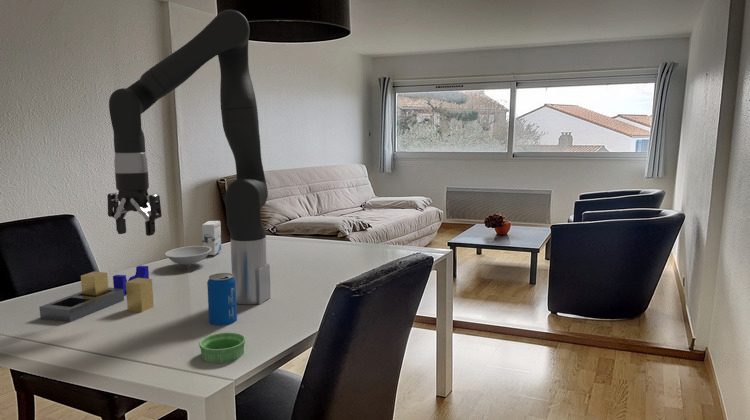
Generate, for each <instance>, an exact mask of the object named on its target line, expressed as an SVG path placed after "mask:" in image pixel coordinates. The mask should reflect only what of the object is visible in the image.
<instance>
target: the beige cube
mask: <svg viewBox="0 0 750 420" xmlns="http://www.w3.org/2000/svg"><path fill="white" fill-rule="evenodd" d="M80 284H81V292H82V296H88V297H98V296H101V295H103V294H106V293H109V289H108V287H109V279H108V272H103V271H91V272H88V273H84V274H82V275H80Z"/></svg>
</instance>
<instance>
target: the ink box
mask: <svg viewBox="0 0 750 420" xmlns="http://www.w3.org/2000/svg"><path fill="white" fill-rule="evenodd" d="M221 226H222V225H221V221H220V220H208V221H206V222H205V223H203V224H201V237H202V238H201V239H202V240H201V244H202V245H201V246H207V247H211V248H212V250H211V251H210V252H209V254H208V255H207V256H215V255H217V254H218V253H219V252H221V250H222V233H221V232H222V231H221Z"/></svg>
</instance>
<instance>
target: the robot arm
mask: <svg viewBox="0 0 750 420" xmlns="http://www.w3.org/2000/svg"><path fill="white" fill-rule="evenodd" d="M250 31H251V29H250V24H249V21H248V19H247V18H246V16H245V15H244V14H242V13H241V12H240V11H238V10H235V9H224V10H223V11H220V12H219V13H217V14H216V16H214V18H213V19H212V20H210V22H209V23H208V24H207V25H206V26H205V27H204V28H203V29H202V30H201V31H200V32H199V33H198V34H196V35H195V36H194V37H193V38H191V40H189V41H188V42H187V43H185V44H184V45H182V46H181V47H180V48H178V49H177V50H175V51H174V52H173V53H171V54H170V55H168V56H167V57H165V58H163V59H162V60H161V61H159V62H158V63H156V64H155V65H153V66H152V67H150V68H149V69H147V70H146V71H145V72H143V74H142V75H141V76H140V78H139V79H138V80H136V81H135V82H134V83H132V84H131V85H129V86H128V87H127V88H118V89H116V90H114V91H113V92H112V93H111V95H110V96H109V99H108V109H109V116H110V117H109V118H110V122H111V127H112V132H113V148H114V163H113V164H114V174H115V175H114V176H115V179H114V180H115V188H116V190H117V191H118V192H111V193H108V194H107V195H106V196H107V216H108V217H109V218H110V217H111V218H114V219H115V226H116V229H115V230H116V232H117V234H118V235H124V234H126V233H127V224H126V218H125V217H126V216H127V213H129V212H138V214H140V215H141V216H142V217H143V218H144V220H145V221H144V225H145V236H147V237H150V236H154V235H155V233H156V222H155V221H156V220H157V219H160V218H162V206H161V197H160V194H159V193H154V194H149V192H148V190H149V188H150V183H149V171H148V170H149V168H148V167H149V165H148V159H147V153H146V139H145V135H144V131H143V129H142V114H143V113H145V112H146V111H147V110H148V109H150V108H151V107H152V106H153V105H154V104H155V103H156V102H157V101H158V100H160V99H162V98H163V97H165V96H167V95H168V94H170V93H171V92H172V91H174V90H176V89H177V88H179V87H180V86H181V85H182V84H183V83H185V82H186V81H187V80H188V79H189V78H190V77H192V76H193V75H194V74H195V73H196V72H197V71H199V69H201V67H203V66H204V65H205V64H206V63H208V62H209V61H210V60H212V59H213V58H215V57H217V58H218V61H219V62H218V63H219V69H220V85H219V87H220V91H219V93H220V94H219V96H220V97H219V98H220V99H219V100H220V112H221V122H222V127H223V128H222V129H223V132H224V136H225V138H226V140H227V142H228V145H229V147H230V149H231V152H232V155H233V157H234V162H235V170H236V172H235V173H236V180H234V181H232V182H231V183H230V184H229V185H228V187H227V188H226V192H225V198H224V199H225V200H224V201H225V214H226V225H227V229H228V231H229V233H230V235H229V236H230V237H229V238H230V256H231V257H230V260H231V262H230V263H231V274H233V277H234V278H235V281H236V305H237V304H238V305H261V304H262V303H264V302H265V301H267V300H269V299H271V296H272V295H271V266H270V264H269V263H267V261H268V260H267V236H266V235H267V233H266V232H267V231H266V227H265V225H263V222H262V216H261V213H262V212H261V209H262V208H263V207H264V206H265V205H266V202H267V200H268V197H269V196H268V195H269V193H268V192H269V191H268V186H267V180H266V176H265V172H264V167H263V166H264V165H263V161H262V153H261V139H260V138H261V137H260V135H261V134H260V126H259V125H260V124H259V123H260V122H259V112H258V105H257V97H256V94H255V89H254V85H253V81H252V78H251V73H250V68H249V40H250ZM114 219H113V220H114Z"/></svg>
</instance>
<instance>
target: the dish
mask: <svg viewBox="0 0 750 420" xmlns="http://www.w3.org/2000/svg"><path fill="white" fill-rule="evenodd" d="M211 250H212V248H211V247H207V246H202V245H187V246H180V247H177V248H173V249H170V250H168V251H165V253H164V256H165V257H167V258H168V259H169V260H170V261H171V262H173V263H175V264H178V265H186V266H188V267H189V266H193V265H194V264H196V263H199V262H201V261H203V260H204V259H205V258H206V257H208V256H209V255H208V254H209V252H210V251H211Z"/></svg>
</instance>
